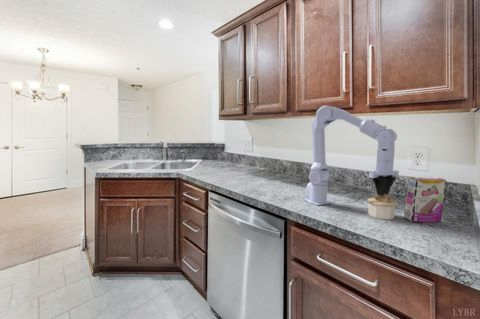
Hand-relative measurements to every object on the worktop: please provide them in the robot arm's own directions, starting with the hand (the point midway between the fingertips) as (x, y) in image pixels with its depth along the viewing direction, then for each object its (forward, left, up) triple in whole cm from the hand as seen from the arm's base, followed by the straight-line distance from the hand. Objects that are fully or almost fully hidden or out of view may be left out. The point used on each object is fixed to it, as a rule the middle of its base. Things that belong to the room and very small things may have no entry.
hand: (382, 194), depth 99 cm
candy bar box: (+10, +10, -9) cm, 16 cm away
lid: (0, 0, -3) cm, 3 cm away
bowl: (0, 0, -8) cm, 8 cm away
